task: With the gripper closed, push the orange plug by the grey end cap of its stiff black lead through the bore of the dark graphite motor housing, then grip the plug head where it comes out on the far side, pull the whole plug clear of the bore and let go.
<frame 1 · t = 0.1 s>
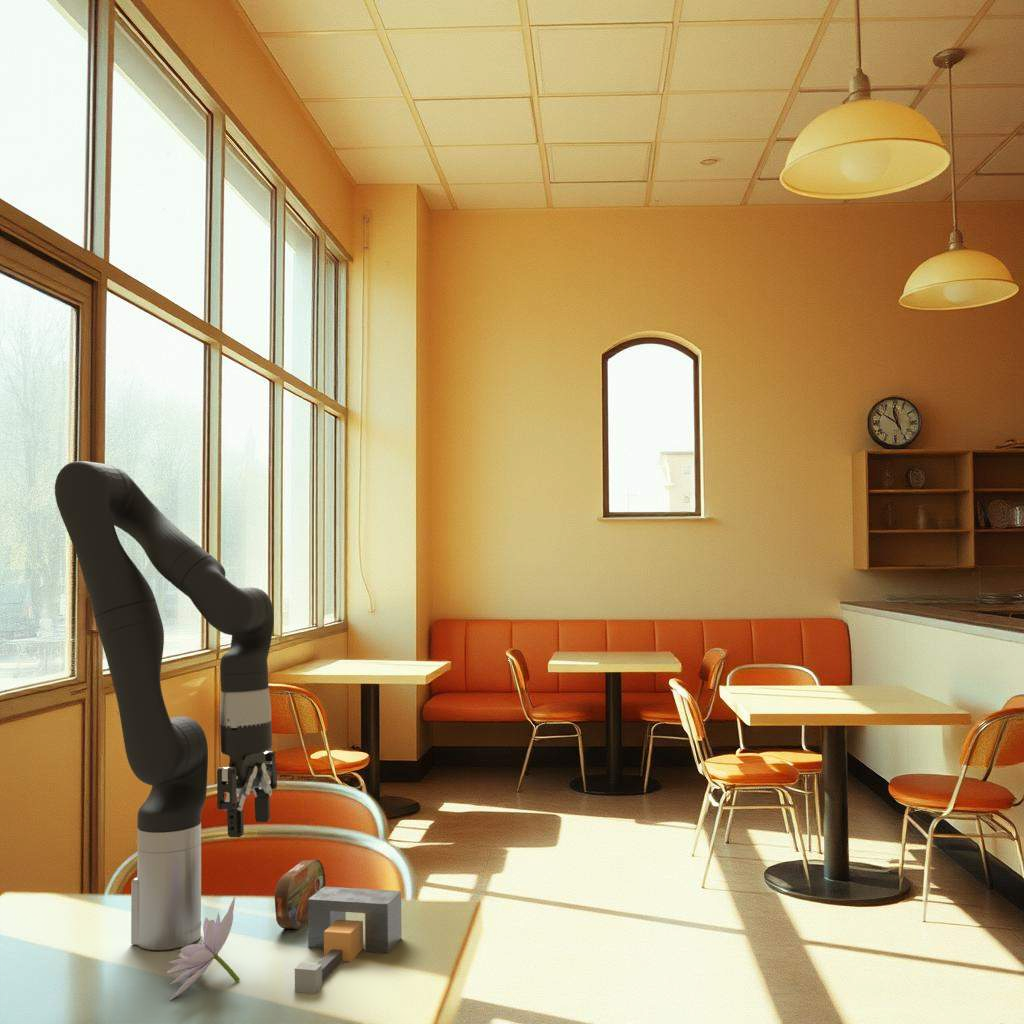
hand: (249, 828, 151), 17 cm above the table, tool pointing down, fingers open, 8 cm apart
housing: (355, 942, 150), on the table
tin: (300, 920, 161), on the table
plug: (343, 954, 146), on the table
water lily: (202, 983, 137), on the table
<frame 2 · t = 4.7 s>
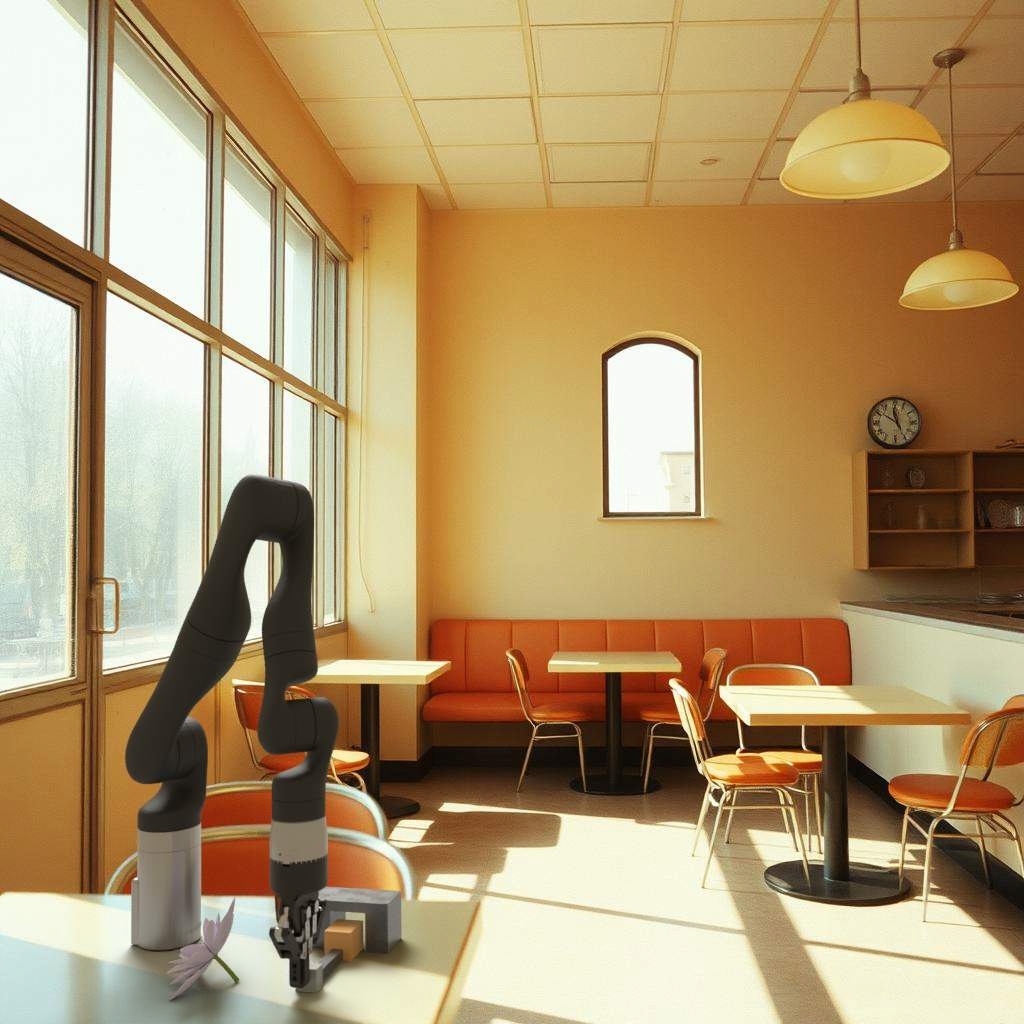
hand: (299, 985, 132), 1 cm above the table, tool pointing down, fingers closed
plug: (344, 953, 146), on the table, touching gripper
everything else where it was.
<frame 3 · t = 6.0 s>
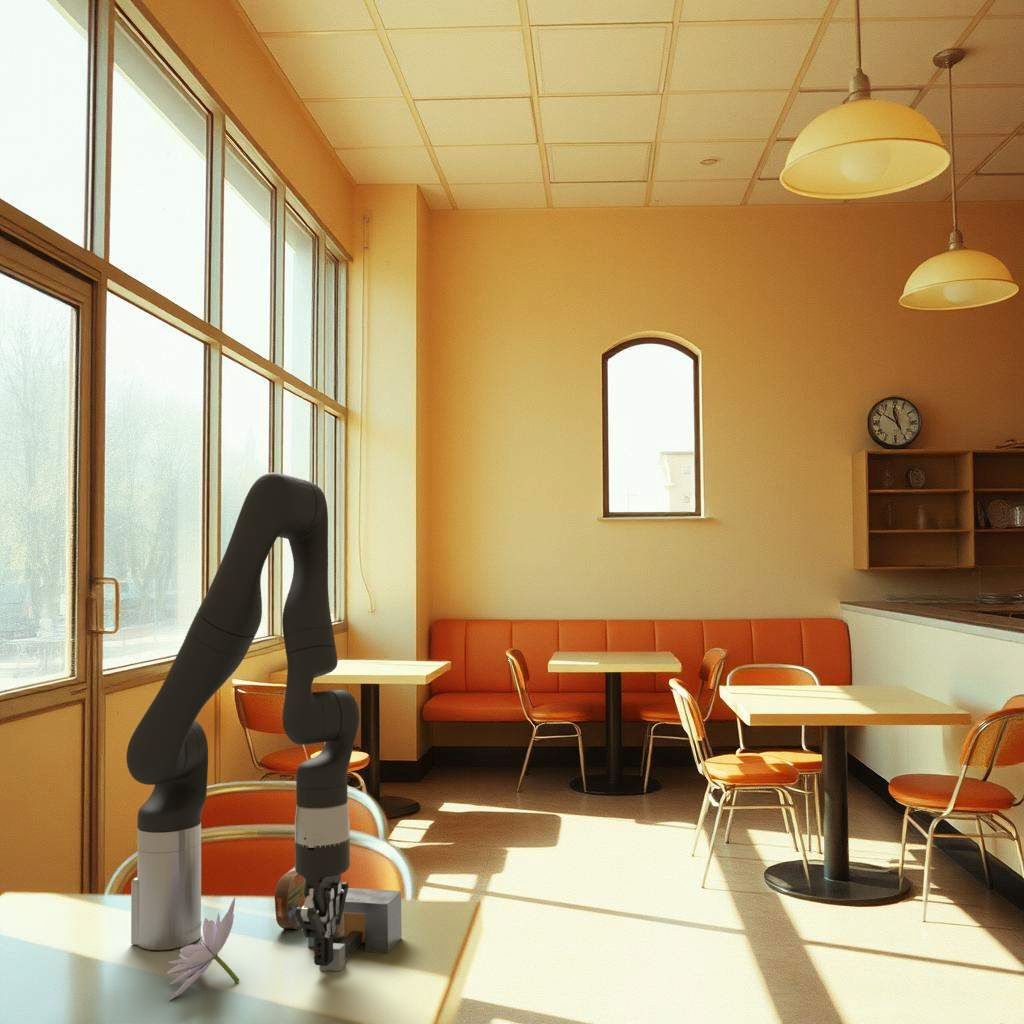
hand: (323, 963, 139), 2 cm above the table, tool pointing down, fingers closed
plug: (362, 935, 153), on the table, touching gripper
everything else where it was.
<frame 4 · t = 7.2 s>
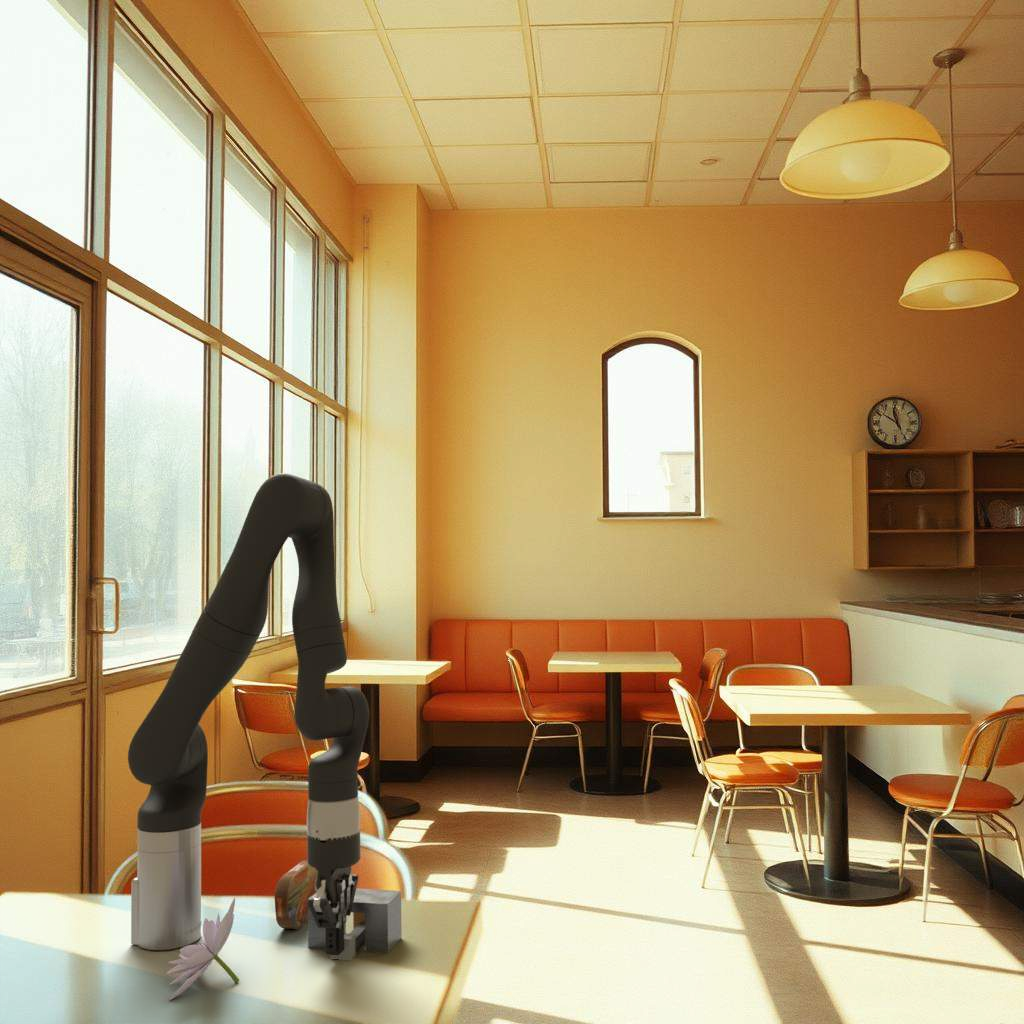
hand: (334, 953, 142), 2 cm above the table, tool pointing down, fingers closed
plug: (371, 927, 157), on the table, touching gripper
everything else where it was.
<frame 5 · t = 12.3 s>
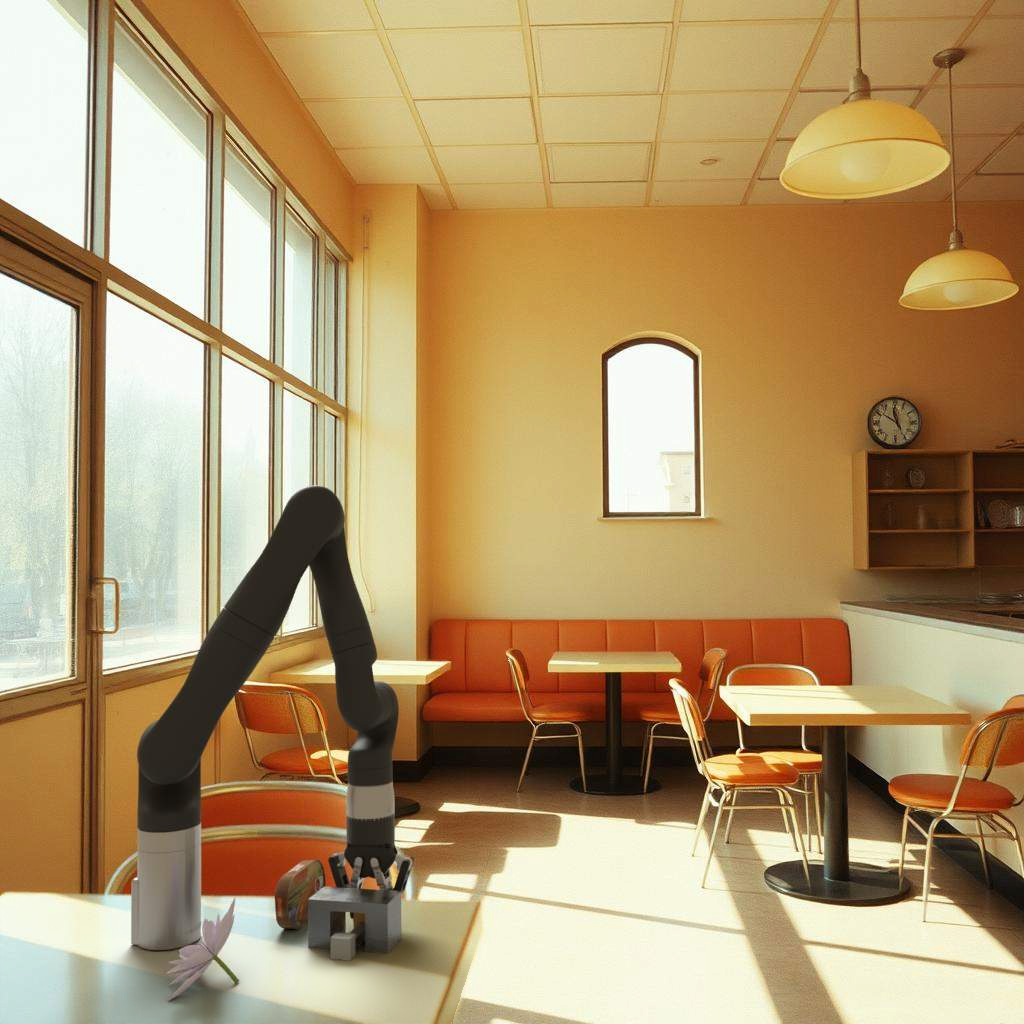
hand: (371, 921, 157), 1 cm above the table, tool pointing down, fingers closed on plug, 4 cm apart
plug: (371, 926, 157), on the table, touching gripper
everything else where it was.
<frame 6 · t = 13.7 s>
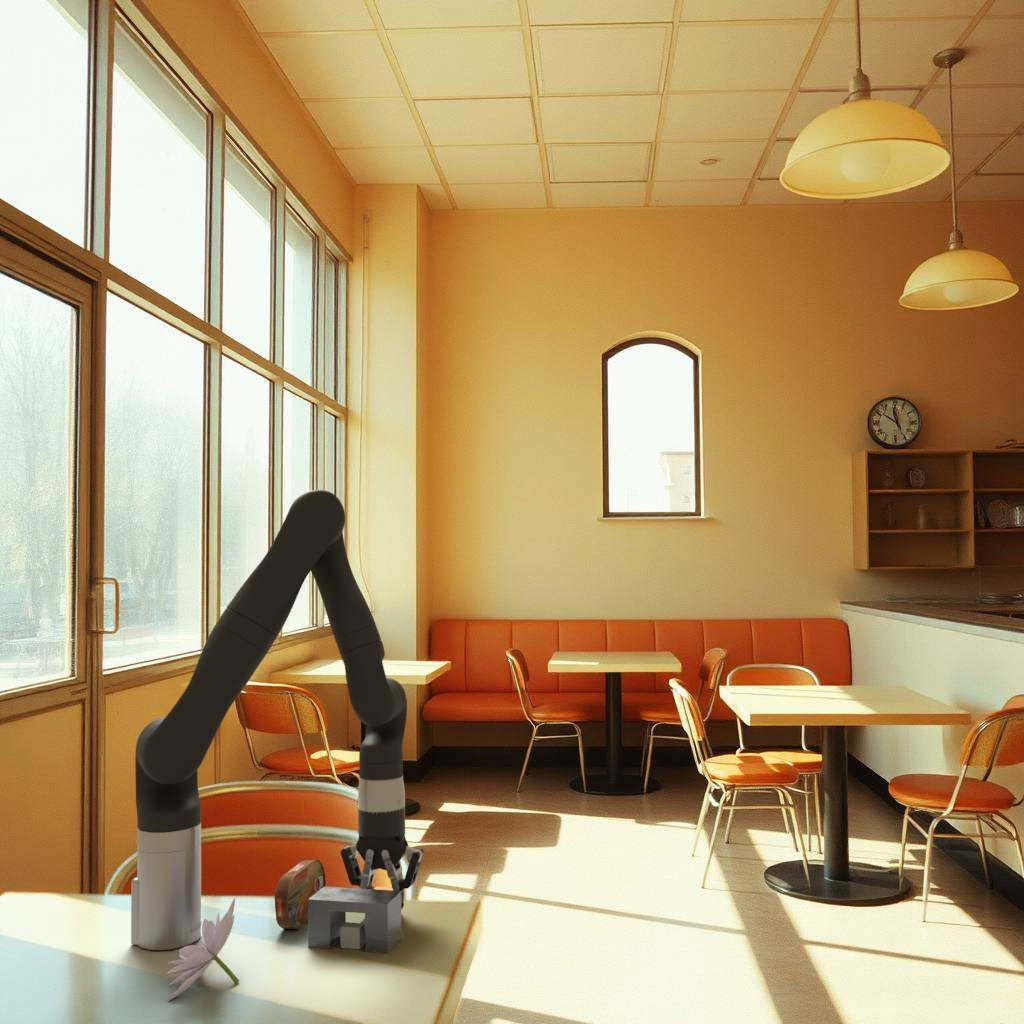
hand: (382, 912, 161), 1 cm above the table, tool pointing down, fingers closed on plug, 4 cm apart
plug: (382, 917, 161), on the table, touching gripper
everything else where it was.
when the fingers open (1 cm above the table, at t = 15.2 s): plug stays where it is, on the table.
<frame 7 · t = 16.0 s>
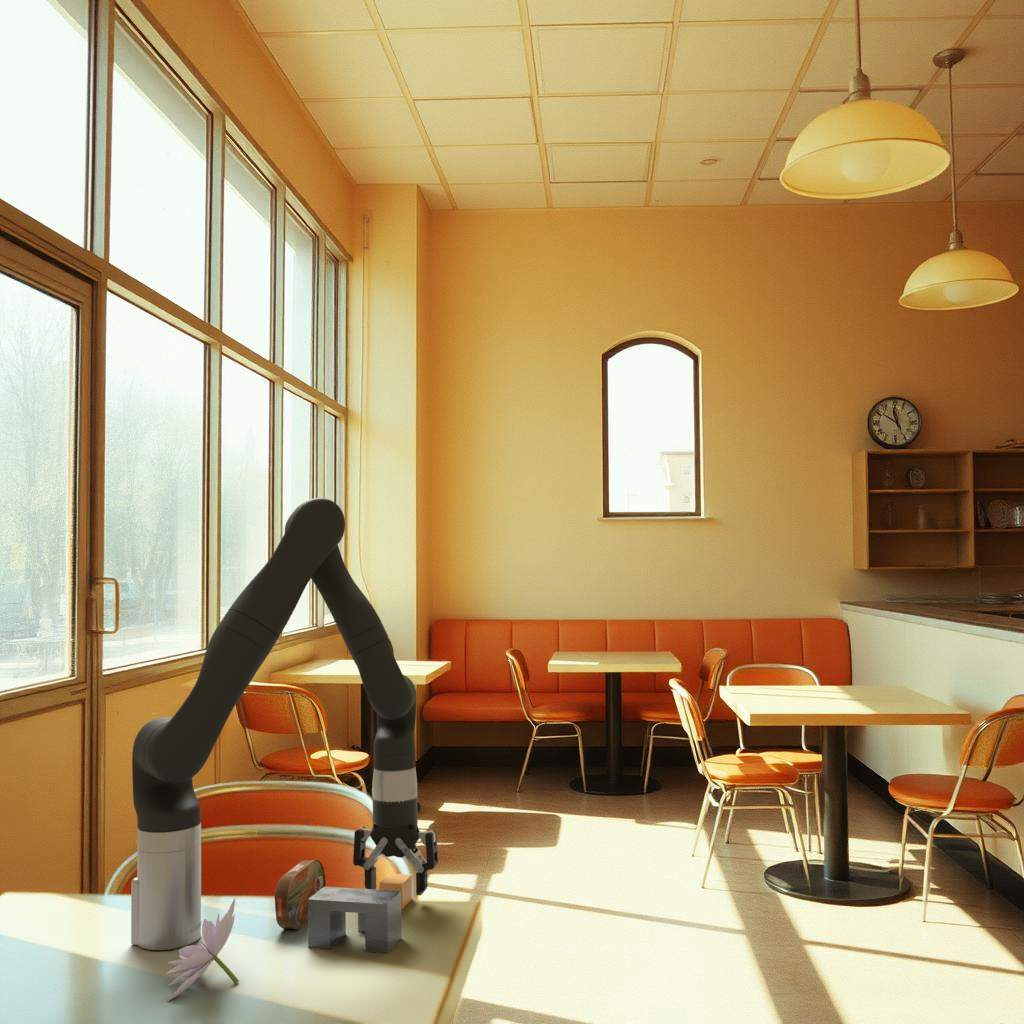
hand: (395, 892, 168), 2 cm above the table, tool pointing down, fingers open, 8 cm apart
plug: (396, 903, 168), on the table
everything else where it was.
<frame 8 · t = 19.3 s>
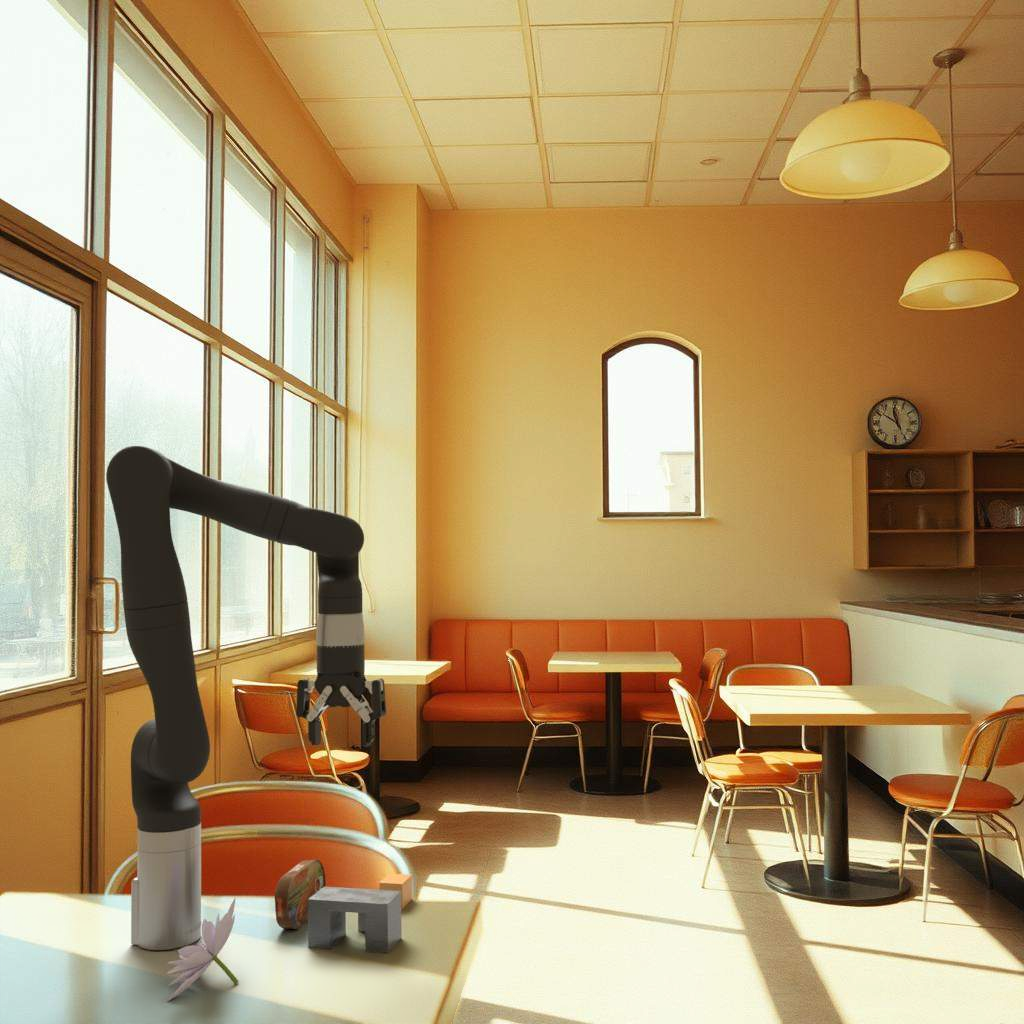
hand: (341, 745, 159), 28 cm above the table, tool pointing down, fingers open, 8 cm apart
nothing on the table moved.
at the end: plug 1.8 cm from the target spot, on the table; the gripper is holding nothing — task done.
